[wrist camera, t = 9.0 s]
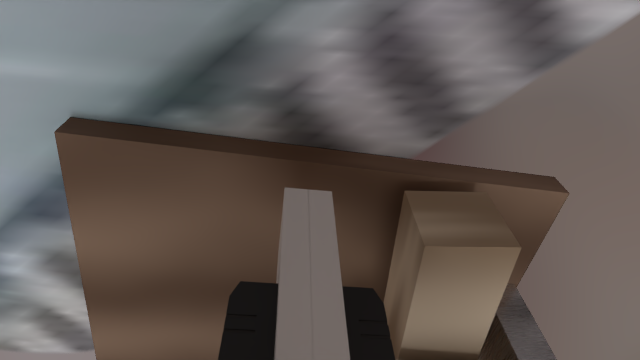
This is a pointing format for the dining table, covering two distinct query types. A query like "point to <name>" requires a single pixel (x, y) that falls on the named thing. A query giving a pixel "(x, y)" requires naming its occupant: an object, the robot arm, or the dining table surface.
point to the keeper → (514, 332)
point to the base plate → (238, 223)
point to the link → (447, 274)
